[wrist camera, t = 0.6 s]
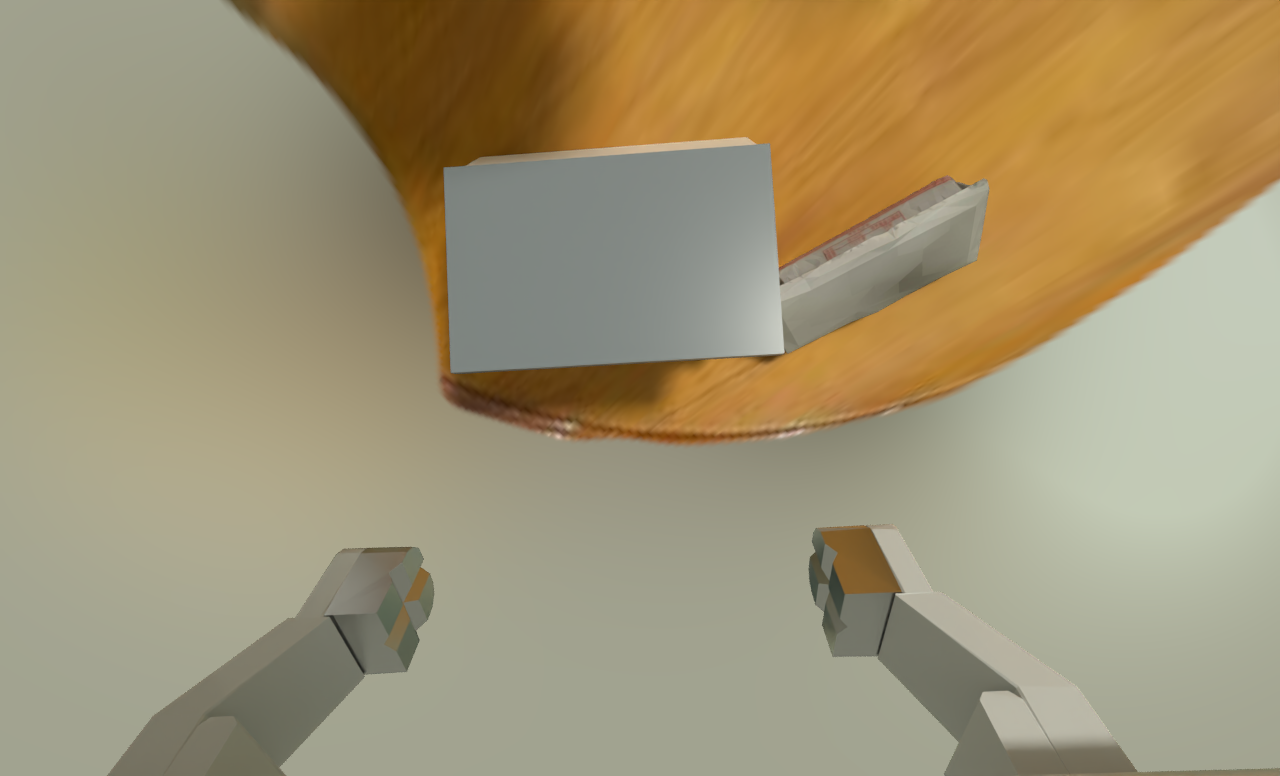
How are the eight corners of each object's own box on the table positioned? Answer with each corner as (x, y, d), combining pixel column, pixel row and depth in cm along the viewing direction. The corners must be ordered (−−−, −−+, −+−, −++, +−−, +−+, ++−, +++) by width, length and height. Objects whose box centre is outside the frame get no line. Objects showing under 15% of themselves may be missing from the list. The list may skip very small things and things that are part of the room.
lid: (449, 174, 37) (443, 167, 36) (766, 151, 36) (769, 143, 35) (456, 374, 36) (450, 372, 35) (780, 355, 35) (784, 353, 34)
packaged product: (949, 224, 48) (957, 145, 39) (980, 263, 45) (996, 188, 37) (766, 318, 52) (738, 266, 44) (786, 357, 50) (760, 310, 42)
